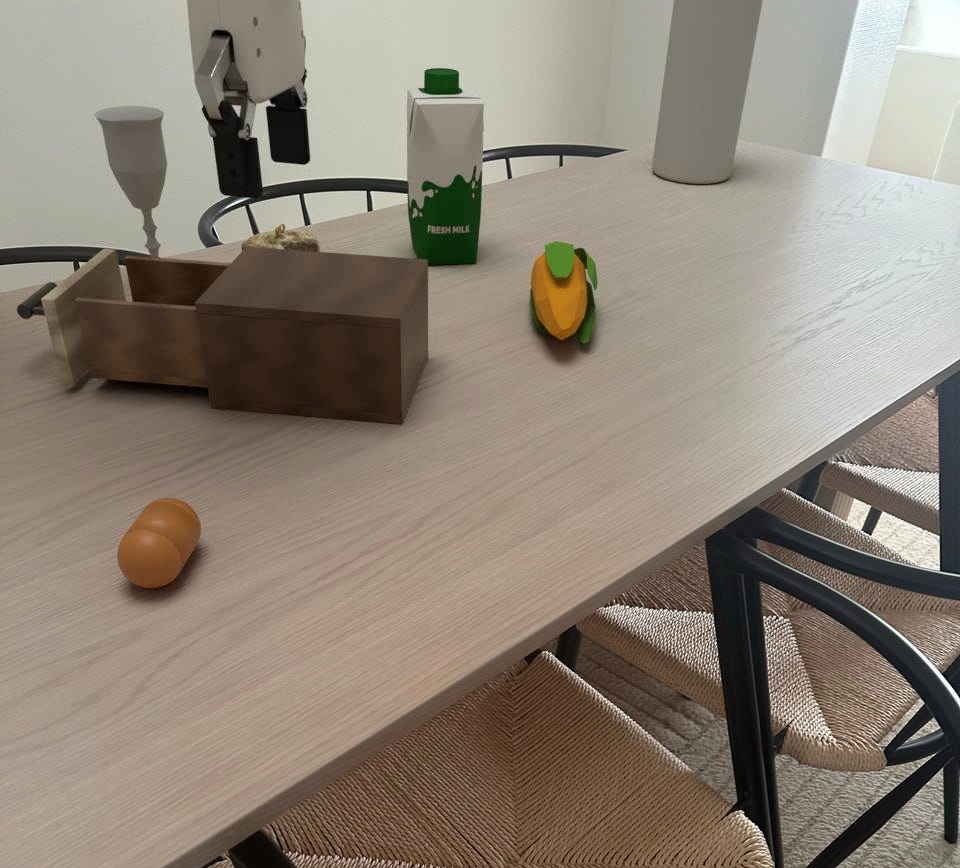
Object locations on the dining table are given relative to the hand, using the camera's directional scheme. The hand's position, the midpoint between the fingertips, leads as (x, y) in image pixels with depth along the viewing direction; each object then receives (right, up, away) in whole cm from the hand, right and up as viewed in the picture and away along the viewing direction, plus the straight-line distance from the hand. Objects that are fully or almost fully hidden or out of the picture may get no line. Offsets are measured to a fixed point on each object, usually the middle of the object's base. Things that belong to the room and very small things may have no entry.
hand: (267, 178), depth 76 cm
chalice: (-20, +4, +36) cm, 41 cm away
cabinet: (+1, -11, +19) cm, 22 cm away
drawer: (-16, -8, +20) cm, 26 cm away
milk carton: (+12, +13, +48) cm, 51 cm away
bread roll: (-6, -30, -5) cm, 32 cm away
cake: (-7, +9, +42) cm, 44 cm away
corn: (+25, -2, +31) cm, 40 cm away
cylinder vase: (+50, +38, +81) cm, 102 cm away
